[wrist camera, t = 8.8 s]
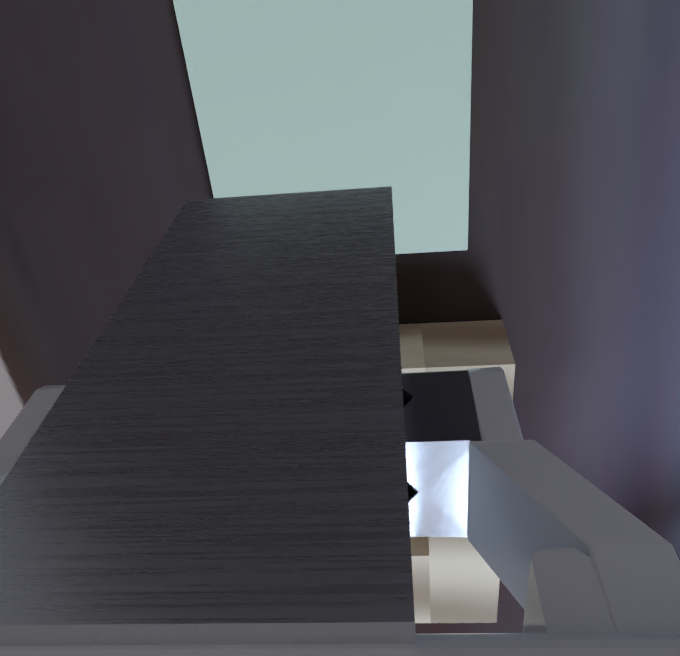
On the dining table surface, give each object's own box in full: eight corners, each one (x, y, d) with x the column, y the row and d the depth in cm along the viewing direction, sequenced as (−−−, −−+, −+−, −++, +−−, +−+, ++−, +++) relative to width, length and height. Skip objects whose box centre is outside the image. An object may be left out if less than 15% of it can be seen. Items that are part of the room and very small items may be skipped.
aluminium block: (186, 199, 13) (-91, 626, 5) (391, 186, 12) (414, 622, 5) (224, 365, 15) (67, 836, 7) (399, 357, 14) (423, 843, 7)
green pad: (178, -2, 20) (172, 0, 20) (470, -31, 19) (473, -29, 19) (230, 256, 25) (227, 263, 25) (465, 242, 24) (467, 249, 24)
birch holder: (210, 333, 27) (193, 376, 25) (502, 319, 26) (515, 364, 24) (267, 573, 36) (259, 623, 33) (488, 570, 35) (496, 622, 32)
